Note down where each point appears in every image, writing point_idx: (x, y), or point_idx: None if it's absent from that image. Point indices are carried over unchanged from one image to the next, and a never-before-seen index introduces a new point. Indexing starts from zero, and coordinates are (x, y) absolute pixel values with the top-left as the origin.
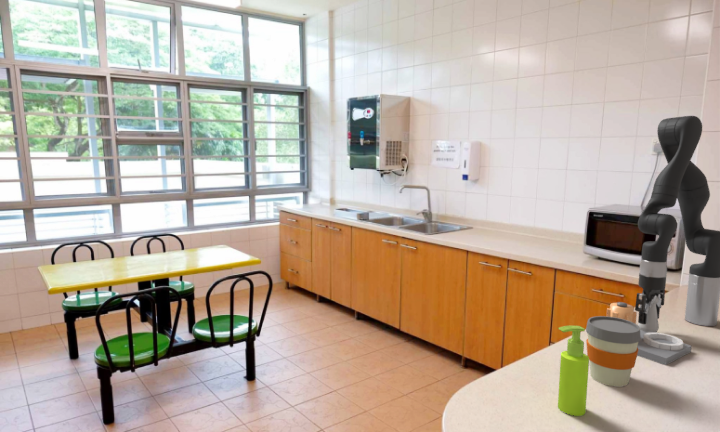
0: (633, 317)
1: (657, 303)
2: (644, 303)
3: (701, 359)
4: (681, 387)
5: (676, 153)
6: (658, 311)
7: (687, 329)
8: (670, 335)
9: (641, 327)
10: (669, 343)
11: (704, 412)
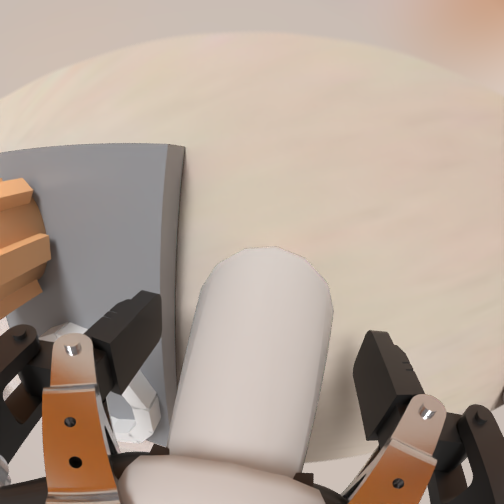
0: None
1: (344, 492)
2: (2, 437)
3: (151, 442)
4: (13, 384)
5: None
6: (363, 420)
7: (452, 384)
8: (148, 421)
9: (205, 282)
10: (119, 402)
11: (3, 396)
